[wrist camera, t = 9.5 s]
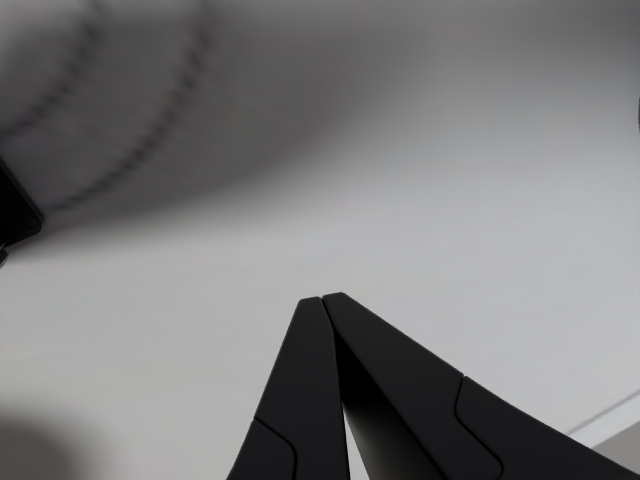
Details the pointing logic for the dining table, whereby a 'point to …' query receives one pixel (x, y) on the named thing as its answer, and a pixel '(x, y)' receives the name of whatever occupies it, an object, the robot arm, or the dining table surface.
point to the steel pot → (639, 114)
